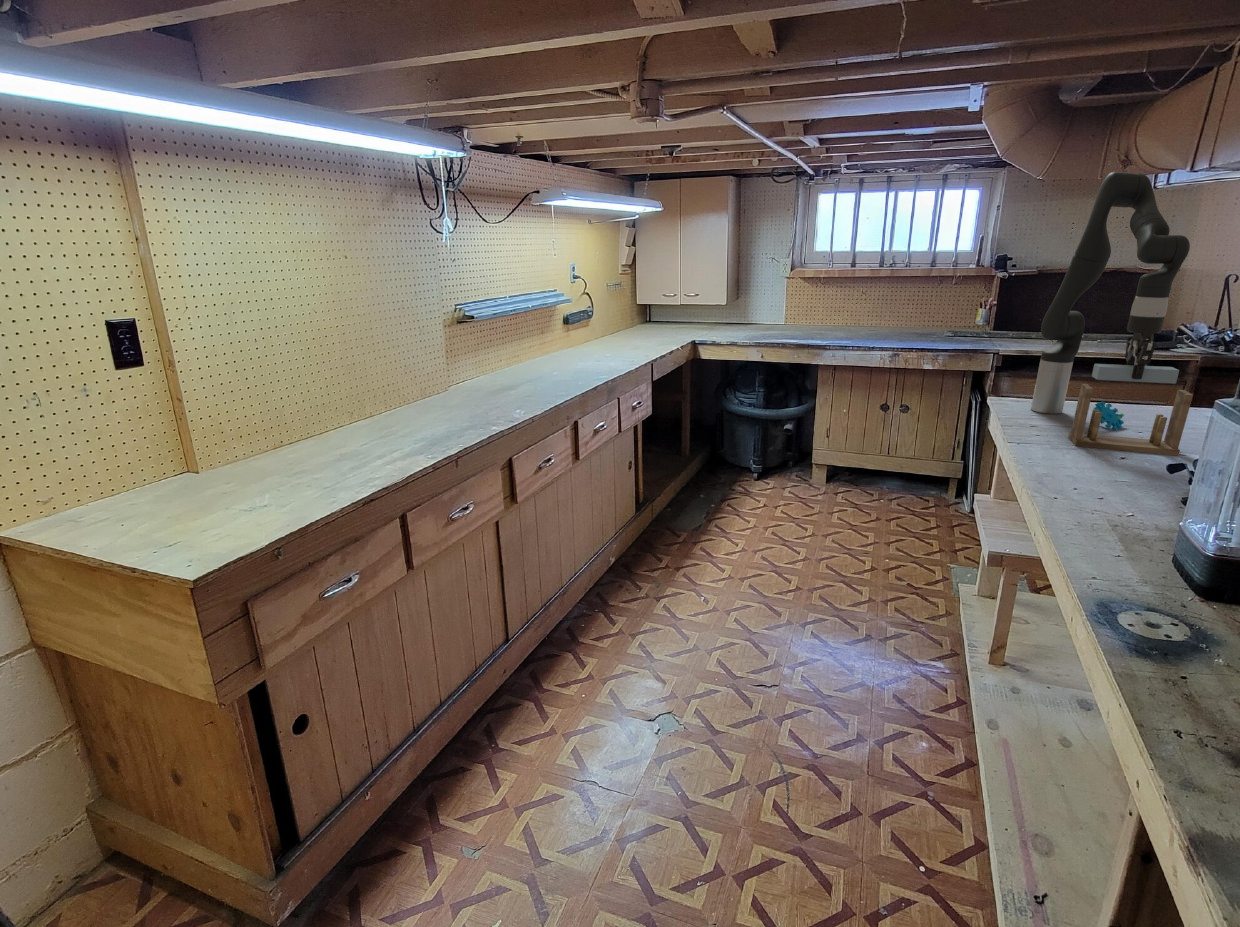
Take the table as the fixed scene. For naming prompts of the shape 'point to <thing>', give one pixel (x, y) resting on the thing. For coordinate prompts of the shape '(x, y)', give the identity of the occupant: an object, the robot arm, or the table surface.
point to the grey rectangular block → (1125, 372)
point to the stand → (1131, 444)
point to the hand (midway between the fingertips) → (1132, 376)
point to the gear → (1109, 415)
